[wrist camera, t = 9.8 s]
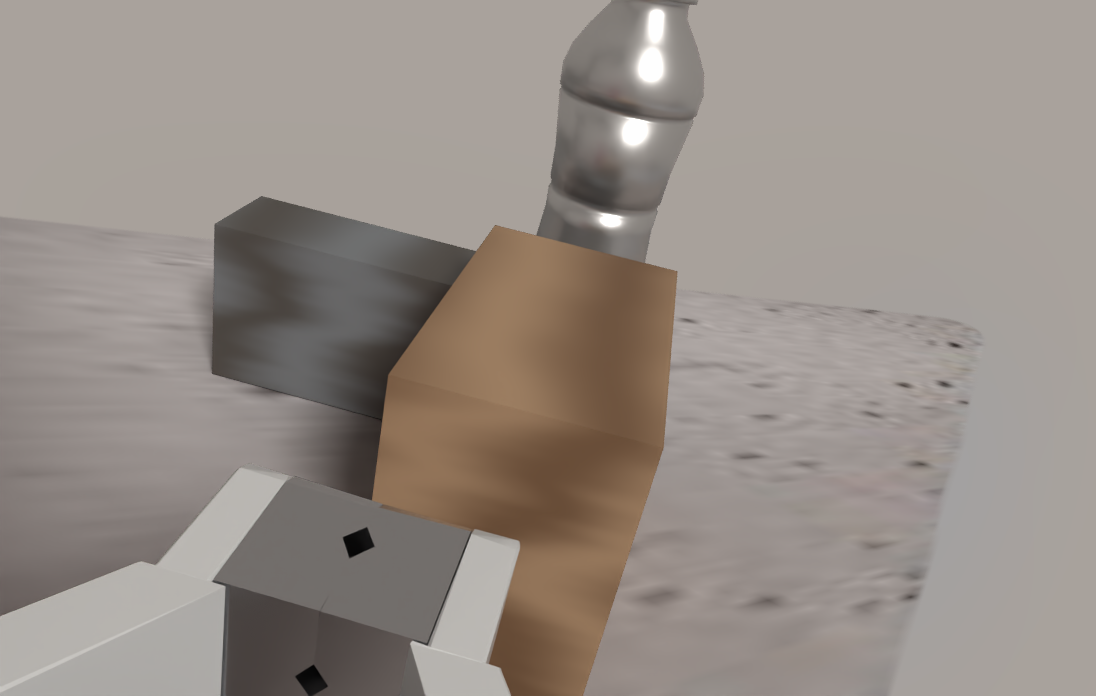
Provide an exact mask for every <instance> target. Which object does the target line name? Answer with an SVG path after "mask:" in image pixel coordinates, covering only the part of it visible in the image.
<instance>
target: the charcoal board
mask: <svg viewBox="0 0 1096 696" xmlns="http://www.w3.org/2000/svg"><path fill="white" fill-rule="evenodd" d="M475 253H476V251H473V250H469V249H465V248H461V247H457V246H453V245H450V244H445V243H441V242H437V241H434V240H430V239H426V238H422V237H418V236H415V235H410V234H407V233H403V232H399V231H395V230H391V229H387V228H383V227H380V226H376V225H372V224H368V223H364V222H360V221H356V220H352V219H348V218H345V217H340V216H336V215H333V214H329V213H325V212H321V211H317V210H313V209H310V208H305V207H302V206H298V205H294V204H290V203H286V202H282V201H278V200H274V199H271V198H267V197H263V196H261V197H259V198H258V199H256V200H254V201H253V202H251V203H249V204H248V205H246V206H244V207H243V208H241V209H239V210H238V211H236V212H234V213H233V214H231V215H229V216H227V217H226V218H224V219H222V220H221V221H219V222H218V223H216V224H215V234H214V295H213V357H212V374H216V375H220V376H223V377H227V378H231V379H234V380H238V381H242V382H246V383H249V384H253V385H257V386H260V387H264V388H268V389H271V390H275V391H279V392H283V393H286V394H290V395H294V396H297V397H301V398H305V399H308V400H312V401H316V402H319V403H323V404H327V405H331V406H334V407H338V408H342V409H345V410H349V411H353V412H356V413H360V414H364V415H368V416H371V417H375V418H379V419H383V412H384V404H385V396H386V389H387V381H388V374H389V373H390V372H391V370H392V369H393V367H394V366H395V365H396V363H397V362H398V360H399V359H400V358H401V356H402V355H403V353H404V352H405V351H406V349H407V348H408V346H409V345H410V344H411V342H412V341H413V339H414V338H415V337H416V335H417V334H418V332H419V331H420V330H421V328H422V327H423V325H424V324H425V323H426V321H427V320H428V318H429V317H430V316H431V314H432V313H433V311H434V310H435V309H436V307H437V306H438V304H439V303H440V302H441V300H442V299H443V297H444V296H445V295H446V293H447V292H448V290H449V289H450V288H451V286H452V285H453V283H454V282H455V281H456V279H457V278H458V276H459V275H460V274H461V272H462V271H463V269H464V268H465V267H466V265H467V264H468V262H469V261H470V260H471V258H472V257H473V255H474V254H475Z"/></svg>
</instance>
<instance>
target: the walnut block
mask: <svg viewBox="0 0 1096 696" xmlns="http://www.w3.org/2000/svg"><path fill="white" fill-rule="evenodd" d="M676 283H677V271H674V270H670V269H665V268H661V267H657V266H654V265H650V264H646V263H642V262H638V261H634V260H630V259H627V258H623V257H619V256H615V255H611V254H607V253H603V252H599V251H595V250H591V249H587V248H583V247H579V246H575V245H571V244H567V243H564V242H560V241H556V240H552V239H548V238H544V237H540V236H536V235H532V234H528V233H524V232H520V231H516V230H512V229H508V228H504V227H500V226H497V225H495V226H494V228H493V229H492V230H491V232H490V233H489V235H488V236H487V237H486V239H485V240H484V241H483V243H482V244H481V246H480V247H479V249H478V250H477V251H476V253H475V254H474V255H473V257H472V258H471V260H470V261H469V262H468V264H467V265H466V267H465V268H464V269H463V271H462V272H461V274H460V275H459V276H458V278H457V279H456V281H455V282H454V283H453V285H452V286H451V288H450V289H449V290H448V292H447V293H446V295H445V296H444V297H443V299H442V300H441V302H440V303H439V304H438V306H437V307H436V309H435V310H434V311H433V313H432V314H431V316H430V317H429V318H428V320H427V321H426V323H425V324H424V325H423V327H422V328H421V330H420V331H419V332H418V334H417V335H416V337H415V338H414V339H413V341H412V342H411V344H410V345H409V346H408V348H407V349H406V351H405V352H404V353H403V355H402V356H401V358H400V359H399V360H398V362H397V363H396V365H395V366H394V367H393V369H392V370H391V372H390V373H389V374H388V381H387V389H386V396H385V404H384V412H383V419H382V427H381V435H380V442H379V450H378V458H377V465H376V473H375V481H374V488H373V496H372V501H375V502H378V503H381V504H383V505H384V504H385V505H389V506H392V507H396V508H399V509H403V510H407V511H410V512H414V513H417V514H421V515H424V516H428V517H431V518H435V519H439V520H442V521H446V522H449V523H453V524H456V525H460V526H463V527H467V528H471V529H477V530H481V531H484V532H488V533H492V534H496V535H499V536H503V537H507V538H510V539H514V540H518V541H519V542H520V550H519V554H518V557H517V561H516V565H515V569H514V572H513V576H512V580H511V583H510V587H509V591H508V594H507V598H506V602H505V606H504V609H503V613H502V617H501V620H500V624H499V628H498V631H497V635H496V639H495V642H494V646H493V650H492V654H491V657H490V661H489V664H490V665H493V666H496V667H499V668H501V671H502V673H503V676H504V679H505V681H506V684H507V686H508V689H509V691H510V694H511V696H583V693H584V690H585V687H586V684H587V681H588V678H589V675H590V672H591V669H592V666H593V663H594V660H595V657H596V653H597V650H598V647H599V644H600V641H601V638H602V635H603V632H604V629H605V626H606V623H607V620H608V617H609V614H610V610H611V607H612V604H613V601H614V598H615V595H616V592H617V589H618V586H619V583H620V580H621V577H622V574H623V571H624V568H625V564H626V561H627V558H628V555H629V552H630V549H631V546H632V543H633V540H634V537H635V534H636V531H637V528H638V525H639V521H640V518H641V515H642V512H643V509H644V506H645V503H646V500H647V497H648V494H649V491H650V488H651V485H652V482H653V479H654V475H655V472H656V469H657V466H658V463H659V460H660V457H661V454H662V451H663V448H664V435H665V422H666V410H667V397H668V385H669V372H670V359H671V347H672V334H673V321H674V309H675V296H676Z"/></svg>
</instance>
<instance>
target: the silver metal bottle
mask: <svg viewBox="0 0 1096 696" xmlns="http://www.w3.org/2000/svg"><path fill="white" fill-rule="evenodd" d="M697 2H698V0H612V1H611V3H610V4H609V5H608V6H606V7H605V8H604V9H603V10H602V11H601V12H600V13H599V14H598V15H597V16H596V17H595V18H594V19H593V20H592V21H591V22H590V23H589V24H588V25H587V26H586V27H585V29H584V30H583V31H582V32H581V33H580V34H579V36H578V37H577V38H576V39H575V40H574V41H573V43H572V45H571V47H570V49H569V51H568V53H567V55H566V57H565V59H564V61H563V67H562V74H561V80H560V84H561V85H562V86H561V88H560V94H559V109H558V121H557V135H556V146H555V152H554V158H553V164H552V170H551V179H552V180H551V183H550V185H549V189H548V194H547V201H546V206H545V209H544V212H543V215H542V219H541V222H540V226H539V229H538V232H537V235H536V236H540V237H544V238H548V239H552V240H556V241H560V242H564V243H567V244H571V245H575V246H579V247H583V248H587V249H591V250H595V251H599V252H603V253H607V254H611V255H615V256H619V257H623V258H627V259H630V260H634V261H638V262H642V263H645V259H646V254H647V249H648V244H649V239H650V234H651V229H652V227H653V224H654V221H655V218H656V215H657V207H658V206H659V205H660V203H661V200H662V197H663V194H664V191H665V189H666V185H667V183H668V180H669V176H670V174H671V171H672V169H673V167H674V165H675V162H676V160H677V158H678V156H679V154H680V151H681V149H682V147H683V144H684V142H685V140H686V137H687V135H688V133H689V131H690V129H691V126H692V124H693V118H694V117H695V116H696V115H697V112H698V109H699V106H700V104H701V101H702V98H703V89H704V72H703V68H702V64H701V60H700V56H699V52H698V48H697V45H696V43H695V40H694V37H693V35H692V32H691V29H690V26H689V23H688V20H687V17H688V8H689V5H697Z"/></svg>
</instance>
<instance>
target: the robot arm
mask: <svg viewBox="0 0 1096 696" xmlns="http://www.w3.org/2000/svg"><path fill="white" fill-rule="evenodd" d="M519 550H520V542H519V541H518V540H514V539H510V538H507V537H503V536H499V535H496V534H492V533H488V532H484V531H481V530H477V529H471V528H467V527H463V526H460V525H456V524H453V523H449V522H446V521H442V520H439V519H435V518H431V517H428V516H424V515H421V514H417V513H414V512H410V511H407V510H403V509H399V508H396V507H392V506H389V505H385V504H384V505H383V504H381V503H378V502H375V501H372V500H369V499H366V498H362V497H359V496H356V495H353V494H350V493H347V492H343V491H340V490H337V489H334V488H331V487H328V486H324V485H321V484H318V483H315V482H312V481H309V480H305V479H302V478H299V477H296V476H295V477H292V476H289V475H286V474H283V473H280V472H277V471H274V470H270V469H267V468H264V467H261V466H258V465H255V464H252V463H248V464H246V465H244V466H242V467H240V468H239V469H237V470H236V471H235V472H234V473H233V474H232V476H231V477H230V478H229V479H228V480H227V481H226V483H225V484H224V485H223V486H222V487H221V488H220V490H219V491H218V492H217V493H216V494H215V495H214V497H213V498H212V499H211V500H210V501H209V502H208V504H207V505H206V506H205V507H204V508H203V509H202V511H201V512H200V513H199V514H198V515H197V516H196V518H195V519H194V520H193V521H192V522H191V523H190V525H189V526H188V527H187V528H186V529H185V530H184V532H183V533H182V534H181V535H180V536H179V537H178V539H177V540H176V541H175V542H174V543H173V544H172V546H171V547H170V548H169V549H168V550H167V551H166V553H165V554H164V555H163V556H162V557H161V558H160V560H159V561H158V562H157V563H156V564H155V565H153V564H150V563H146V562H143V561H139V562H136V563H134V564H131V565H129V566H126V567H124V568H121V569H119V570H116V571H114V572H111V573H108V574H106V575H103V576H101V577H98V578H96V579H93V580H91V581H88V582H86V583H83V584H81V585H78V586H75V587H73V588H70V589H68V590H65V591H63V592H60V593H58V594H55V595H53V596H50V597H48V598H45V599H42V600H40V601H37V602H35V603H32V604H30V605H27V606H25V607H22V608H20V609H17V610H14V611H12V612H9V613H7V614H4V615H2V616H0V696H511V694H510V691H509V689H508V686H507V684H506V681H505V679H504V676H503V673H502V671H501V668H499V667H496V666H493V665H490V664H489V661H490V657H491V654H492V650H493V646H494V642H495V639H496V635H497V631H498V628H499V624H500V620H501V617H502V613H503V609H504V606H505V602H506V598H507V594H508V591H509V587H510V583H511V580H512V576H513V572H514V569H515V565H516V561H517V557H518V554H519Z"/></svg>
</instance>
